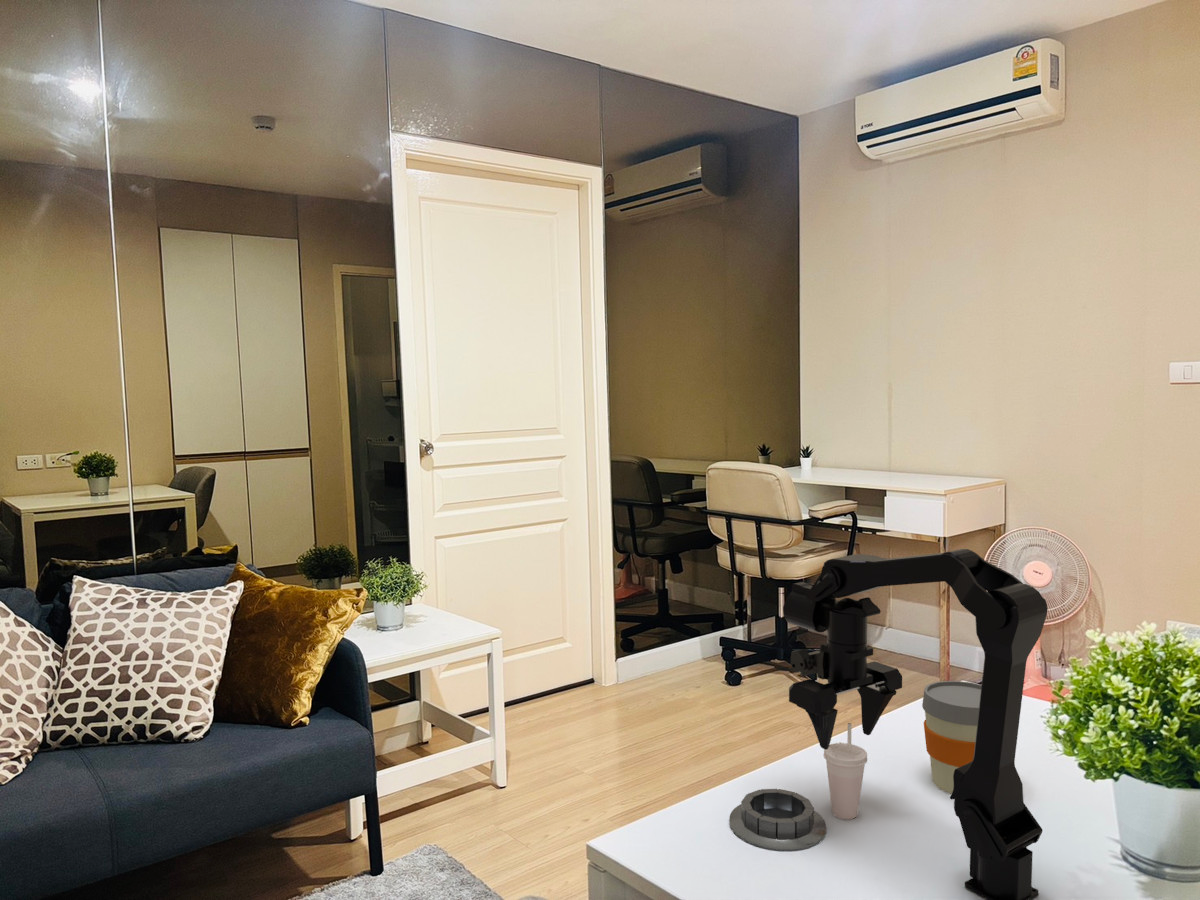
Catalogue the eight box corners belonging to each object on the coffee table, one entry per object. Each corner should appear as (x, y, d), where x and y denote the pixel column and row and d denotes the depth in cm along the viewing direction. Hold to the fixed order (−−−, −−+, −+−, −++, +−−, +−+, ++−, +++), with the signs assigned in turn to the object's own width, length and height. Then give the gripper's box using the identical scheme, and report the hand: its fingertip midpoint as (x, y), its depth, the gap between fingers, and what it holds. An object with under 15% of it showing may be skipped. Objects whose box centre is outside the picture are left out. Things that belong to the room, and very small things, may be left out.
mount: (846, 832, 127) (847, 811, 127) (776, 861, 119) (776, 839, 119) (778, 794, 139) (778, 775, 138) (710, 818, 131) (710, 798, 131)
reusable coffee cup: (925, 798, 137) (927, 705, 136) (916, 763, 149) (918, 677, 148) (1012, 806, 134) (1015, 711, 133) (996, 770, 146) (998, 683, 145)
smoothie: (868, 825, 129) (870, 733, 127) (823, 821, 130) (824, 730, 129) (864, 804, 135) (865, 716, 134) (821, 801, 136) (822, 714, 135)
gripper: (848, 617, 142) (847, 711, 143) (762, 637, 132) (762, 737, 133) (905, 634, 133) (903, 734, 134) (818, 656, 123) (817, 764, 124)
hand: (845, 741), depth 131 cm, fingers open, 9 cm apart
